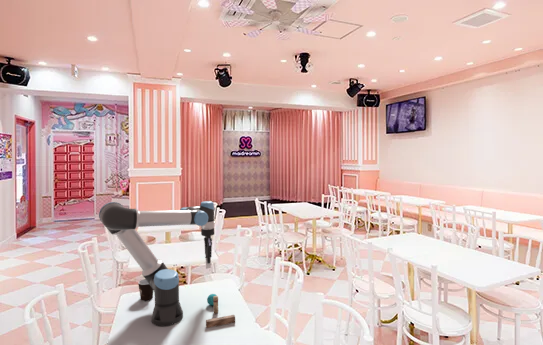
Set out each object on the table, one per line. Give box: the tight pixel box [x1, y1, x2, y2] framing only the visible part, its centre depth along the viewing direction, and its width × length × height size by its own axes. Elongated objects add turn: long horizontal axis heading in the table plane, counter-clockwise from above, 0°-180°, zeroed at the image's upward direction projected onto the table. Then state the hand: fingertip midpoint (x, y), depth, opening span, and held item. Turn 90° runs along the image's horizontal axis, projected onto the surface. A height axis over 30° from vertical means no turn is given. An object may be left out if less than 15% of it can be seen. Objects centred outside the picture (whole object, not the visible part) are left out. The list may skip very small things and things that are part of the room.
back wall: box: [205, 314, 236, 329], centre depth 155 cm, size 14×2×3 cm, turn 111°
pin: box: [213, 295, 219, 315], centre depth 166 cm, size 2×2×8 cm
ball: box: [206, 293, 218, 307], centre depth 175 cm, size 6×6×6 cm
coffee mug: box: [137, 278, 154, 302], centre depth 181 cm, size 12×9×10 cm
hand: (208, 267), depth 186 cm, fingers closed
